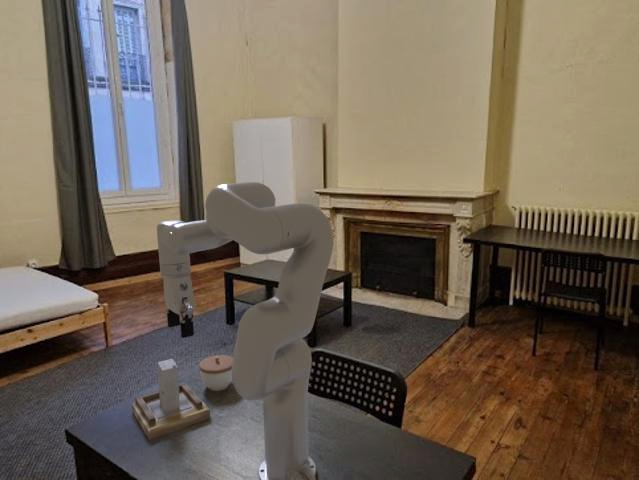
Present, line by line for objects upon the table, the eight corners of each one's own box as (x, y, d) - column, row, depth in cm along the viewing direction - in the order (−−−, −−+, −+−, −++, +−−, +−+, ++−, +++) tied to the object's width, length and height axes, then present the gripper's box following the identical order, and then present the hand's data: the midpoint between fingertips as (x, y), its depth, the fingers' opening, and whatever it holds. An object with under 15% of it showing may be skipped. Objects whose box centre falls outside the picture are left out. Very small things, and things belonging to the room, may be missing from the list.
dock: (210, 418, 123) (209, 404, 122) (149, 440, 113) (148, 425, 113) (188, 393, 135) (188, 381, 135) (132, 411, 126) (131, 398, 125)
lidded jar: (218, 398, 132) (216, 368, 131) (193, 388, 138) (191, 359, 136) (243, 382, 141) (242, 354, 139) (218, 374, 147) (217, 347, 145)
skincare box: (159, 402, 125) (155, 361, 123) (175, 398, 128) (172, 357, 125) (164, 413, 120) (160, 370, 118) (181, 408, 122) (178, 366, 120)
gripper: (202, 272, 113) (207, 337, 116) (177, 260, 127) (182, 319, 130) (173, 277, 109) (178, 344, 112) (150, 265, 123) (155, 325, 125)
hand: (180, 331), depth 121 cm, fingers open, 9 cm apart
